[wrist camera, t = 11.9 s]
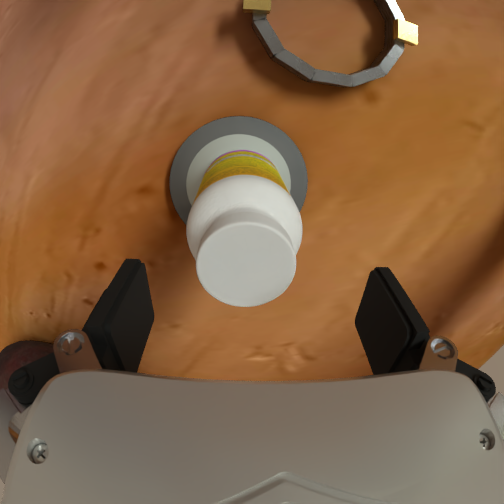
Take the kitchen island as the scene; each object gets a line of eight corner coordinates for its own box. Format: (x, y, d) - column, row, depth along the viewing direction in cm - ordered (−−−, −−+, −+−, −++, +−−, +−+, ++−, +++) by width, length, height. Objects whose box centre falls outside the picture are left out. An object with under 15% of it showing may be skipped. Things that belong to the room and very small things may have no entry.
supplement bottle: (191, 162, 23) (149, 227, 12) (267, 137, 22) (299, 177, 11) (218, 230, 26) (207, 333, 15) (289, 208, 26) (327, 301, 14)
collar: (399, -14, 15) (414, -21, 12) (397, 99, 22) (414, 101, 19) (247, -46, 14) (248, -60, 12) (239, 76, 21) (239, 73, 18)
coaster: (311, 120, 23) (314, 121, 22) (297, 243, 29) (299, 248, 28) (170, 116, 22) (167, 117, 21) (175, 241, 28) (173, 246, 27)
